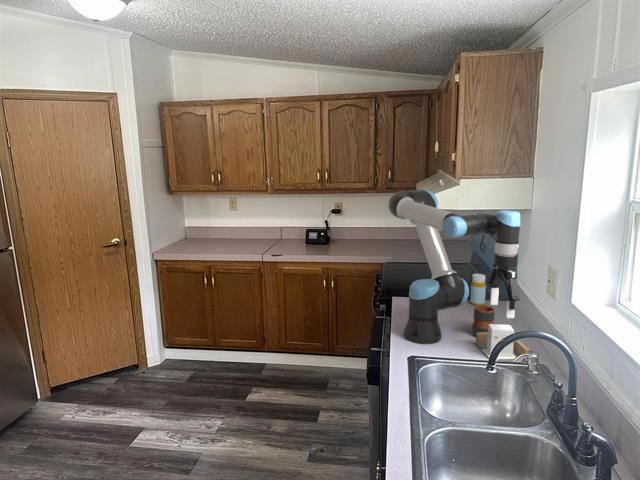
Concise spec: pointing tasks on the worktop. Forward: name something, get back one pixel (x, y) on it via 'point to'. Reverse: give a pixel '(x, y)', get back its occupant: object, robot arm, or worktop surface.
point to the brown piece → (517, 350)
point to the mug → (482, 319)
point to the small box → (499, 338)
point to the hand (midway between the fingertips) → (501, 310)
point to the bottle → (478, 289)
